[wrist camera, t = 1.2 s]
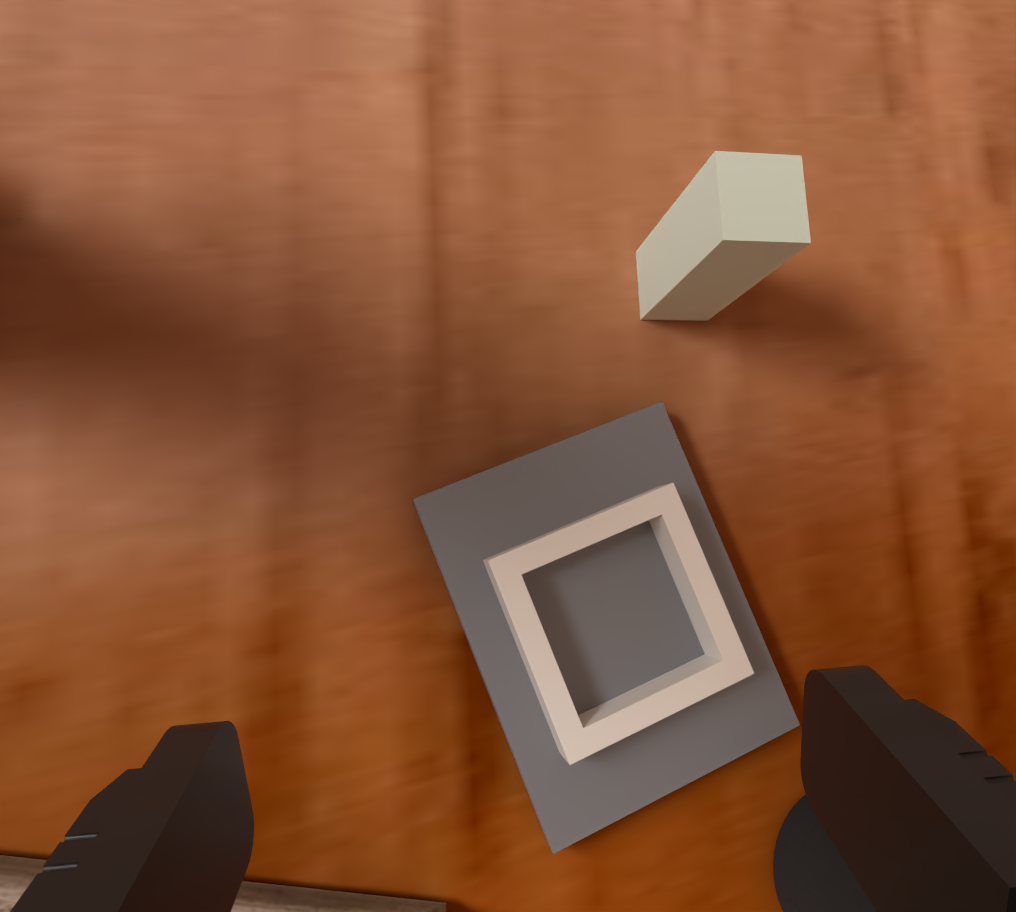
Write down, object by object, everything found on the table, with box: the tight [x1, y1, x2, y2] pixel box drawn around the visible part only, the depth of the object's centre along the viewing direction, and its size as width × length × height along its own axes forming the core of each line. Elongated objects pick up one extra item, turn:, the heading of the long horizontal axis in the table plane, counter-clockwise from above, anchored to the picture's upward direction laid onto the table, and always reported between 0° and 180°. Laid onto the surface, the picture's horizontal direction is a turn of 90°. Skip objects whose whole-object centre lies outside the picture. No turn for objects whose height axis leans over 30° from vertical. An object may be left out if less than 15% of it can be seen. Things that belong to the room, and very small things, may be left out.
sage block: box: [636, 151, 811, 321], centre depth 34 cm, size 4×4×10 cm
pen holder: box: [773, 795, 877, 912], centre depth 31 cm, size 9×9×10 cm
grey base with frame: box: [413, 402, 800, 854], centre depth 34 cm, size 18×14×4 cm
